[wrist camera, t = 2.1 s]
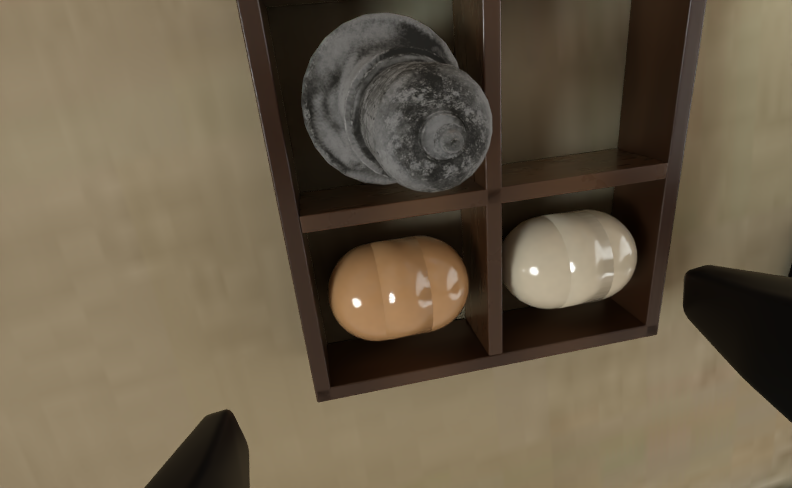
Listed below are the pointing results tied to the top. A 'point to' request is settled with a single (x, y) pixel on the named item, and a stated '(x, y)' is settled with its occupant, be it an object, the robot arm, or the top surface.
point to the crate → (497, 205)
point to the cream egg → (568, 259)
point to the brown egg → (398, 288)
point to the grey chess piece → (394, 105)
